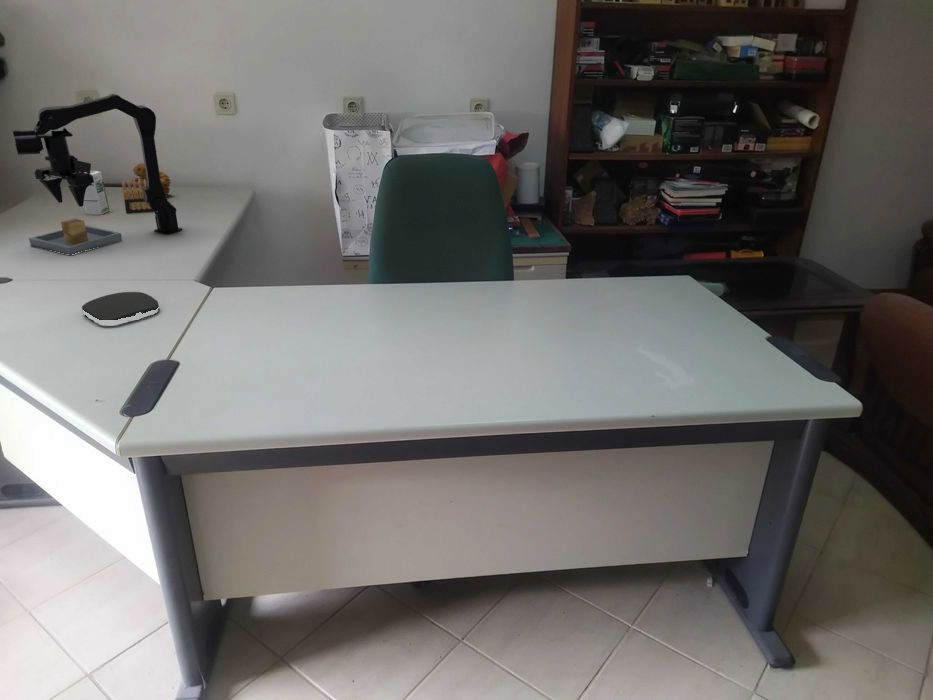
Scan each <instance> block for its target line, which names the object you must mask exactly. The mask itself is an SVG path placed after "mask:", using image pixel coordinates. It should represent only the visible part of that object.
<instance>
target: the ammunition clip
mask: <svg viewBox="0 0 933 700" xmlns="http://www.w3.org/2000/svg"><path fill="white" fill-rule="evenodd" d="M132 180H133V183H132V184H131V181H130V179H127V183H126V182H125V180H124V179H122V180H121V187H122V196H123V200H124V207H125V213H126V214H127V215H128V214H129V215H130V214H142V213H145V214H146V213H155V212H157V211H155V210H153V209H152V208H151V207H150V206H149V205H148V203H147V202H146V201H145V200H144V199H143V196H144V193H143V190H142V184H141V181H140V179H138V187H139V188H137V185H136V182H135V180H134V178H132ZM146 183H147V182H146V180H145V179H144V186H145V187H146ZM126 184H127V185H126ZM138 191H139V192H138ZM139 196H140V197H139Z"/></svg>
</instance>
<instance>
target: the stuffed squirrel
mask: <svg viewBox="0 0 933 700" xmlns="http://www.w3.org/2000/svg"><path fill="white" fill-rule="evenodd" d="M132 170H133V174H134V175H135V176H136V177H134V178H133V179H134V180H135V182H136V185H137V189H139V187H138V179H140V181H141V184H142V186H144V179H145V180H146V182H147V178H146V171H145V165H144V162H141V163H138V164H136V165H135V166H134V167H133V169H132ZM159 174H160V181H161V184H162V186H163V189H164V191H165V194H166V196H168V194H169V193H170V190H171V188H170V187H171V186H170V185H171V179H170V176H169V175H168V174H166V173H165V172H164V171H160V170H159ZM133 179H131V181H132V184H133ZM138 192H139V190H138ZM139 197H140V196H139Z"/></svg>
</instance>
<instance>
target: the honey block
mask: <svg viewBox="0 0 933 700" xmlns="http://www.w3.org/2000/svg"><path fill="white" fill-rule="evenodd" d="M60 224H61V228H62V229H63V233H64V237H65V241H66V242H68V243H72V244H79V243H82V242H86V241H88V236H87V232H86V228H85V225H86V223H85V220H84V219H79V218H71V219H67V220H61V221H60ZM62 229H61V230H62Z"/></svg>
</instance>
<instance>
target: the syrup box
mask: <svg viewBox="0 0 933 700" xmlns="http://www.w3.org/2000/svg"><path fill="white" fill-rule="evenodd" d="M84 173H87V172H84ZM90 174H91V175H92V176H93V179H94V183H92V184H91V185H90V186H88V187H87V188H86V191H85V196H84V203H83V206H84V208H85V213H86V215H96V216H97V215H98V216H99V215H102V216H103V214H106V213H108V212H110V210H111V209H110V205H109V201H108V197H107V192H106V188H105V184H104V180H103V176H102V171H101V170H91V171H90Z"/></svg>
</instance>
